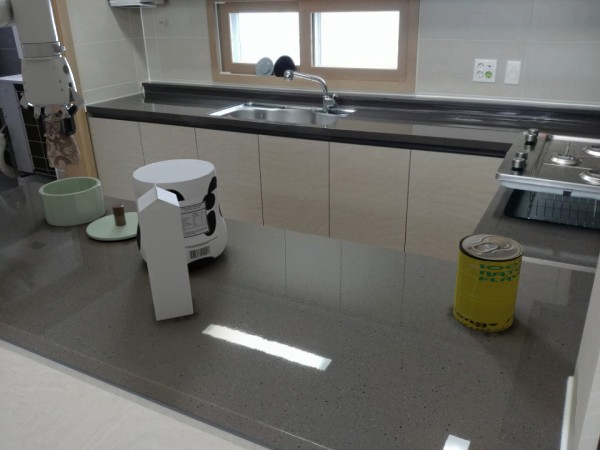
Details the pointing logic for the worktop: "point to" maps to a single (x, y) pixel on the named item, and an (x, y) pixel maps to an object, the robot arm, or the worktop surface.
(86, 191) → the bowl
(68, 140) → the figurine
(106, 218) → the bowl lid
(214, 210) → the milk container
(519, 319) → the worktop surface
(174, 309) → the milk
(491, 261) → the beverage can
